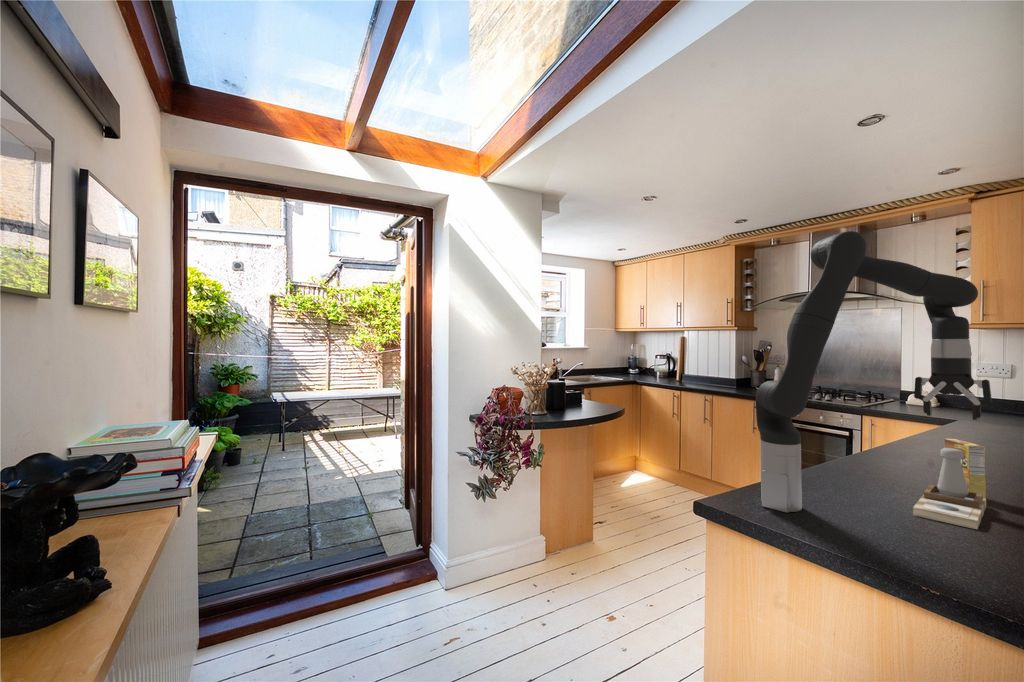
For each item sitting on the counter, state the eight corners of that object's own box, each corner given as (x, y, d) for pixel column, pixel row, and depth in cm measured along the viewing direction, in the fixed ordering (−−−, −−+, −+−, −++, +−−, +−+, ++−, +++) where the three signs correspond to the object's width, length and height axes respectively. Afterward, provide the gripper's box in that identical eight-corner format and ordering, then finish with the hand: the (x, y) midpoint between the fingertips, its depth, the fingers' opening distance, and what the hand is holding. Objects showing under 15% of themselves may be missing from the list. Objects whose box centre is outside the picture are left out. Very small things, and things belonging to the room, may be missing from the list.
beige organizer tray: (977, 529, 100) (977, 514, 100) (913, 515, 108) (912, 501, 108) (986, 506, 114) (985, 493, 114) (928, 495, 122) (928, 483, 122)
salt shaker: (975, 503, 111) (974, 452, 111) (948, 501, 112) (947, 451, 112) (957, 495, 116) (956, 446, 116) (932, 493, 118) (931, 446, 118)
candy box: (943, 490, 126) (942, 438, 126) (960, 491, 125) (959, 438, 126) (969, 501, 118) (968, 445, 118) (987, 502, 117) (986, 445, 117)
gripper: (911, 356, 118) (912, 415, 118) (989, 357, 107) (990, 422, 107) (916, 355, 123) (917, 412, 122) (991, 356, 111) (992, 419, 111)
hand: (951, 417), depth 114 cm, fingers open, 8 cm apart
